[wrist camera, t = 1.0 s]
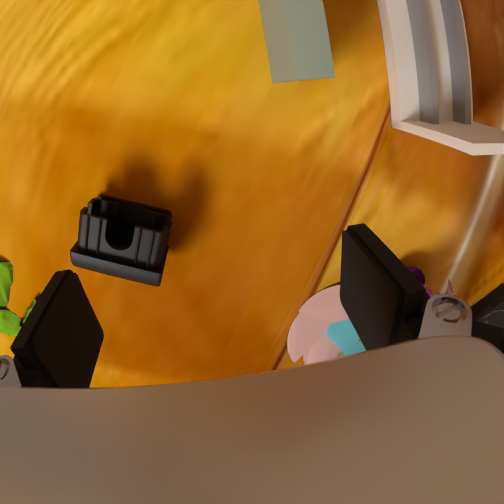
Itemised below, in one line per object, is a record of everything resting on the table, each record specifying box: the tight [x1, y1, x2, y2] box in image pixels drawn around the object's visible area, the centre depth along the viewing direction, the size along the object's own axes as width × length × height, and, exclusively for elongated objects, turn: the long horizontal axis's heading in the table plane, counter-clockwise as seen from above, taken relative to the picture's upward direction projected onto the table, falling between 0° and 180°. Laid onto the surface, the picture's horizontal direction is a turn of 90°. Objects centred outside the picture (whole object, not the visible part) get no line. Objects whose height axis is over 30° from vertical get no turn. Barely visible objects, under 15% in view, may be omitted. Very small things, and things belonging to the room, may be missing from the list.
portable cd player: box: [470, 284, 504, 329], centre depth 52 cm, size 16×17×4 cm
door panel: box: [258, 0, 335, 83], centre depth 23 cm, size 10×3×10 cm, turn 8°
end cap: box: [70, 195, 172, 287], centre depth 32 cm, size 10×7×7 cm
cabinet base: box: [377, 0, 504, 155], centre depth 20 cm, size 26×12×14 cm, turn 8°
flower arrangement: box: [287, 267, 453, 364], centre depth 36 cm, size 35×24×28 cm
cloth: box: [0, 261, 40, 337], centre depth 38 cm, size 20×22×2 cm
